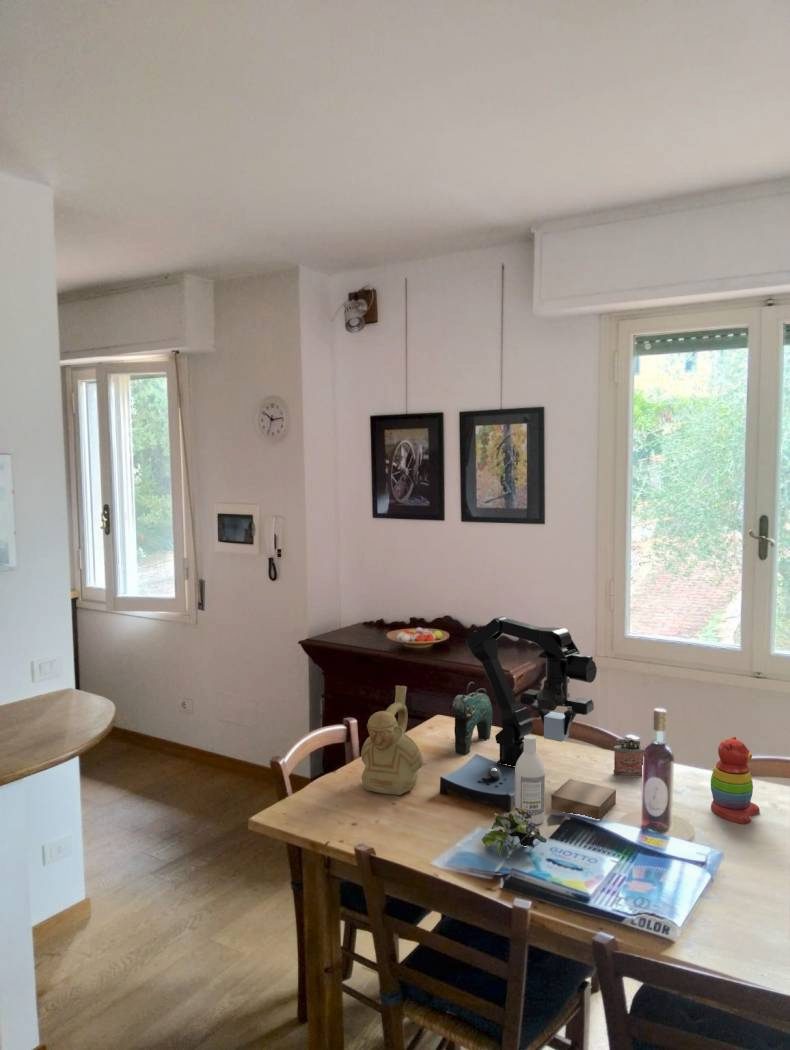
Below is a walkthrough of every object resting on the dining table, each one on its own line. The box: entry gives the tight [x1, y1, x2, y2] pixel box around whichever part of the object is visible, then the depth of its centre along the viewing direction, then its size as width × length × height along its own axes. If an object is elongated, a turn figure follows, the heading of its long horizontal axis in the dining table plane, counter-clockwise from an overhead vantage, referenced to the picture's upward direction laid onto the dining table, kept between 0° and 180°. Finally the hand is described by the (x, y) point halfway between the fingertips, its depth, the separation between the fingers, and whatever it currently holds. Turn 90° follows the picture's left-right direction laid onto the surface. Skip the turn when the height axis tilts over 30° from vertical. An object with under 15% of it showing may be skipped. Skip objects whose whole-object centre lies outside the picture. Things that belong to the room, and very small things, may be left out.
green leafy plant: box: [481, 807, 547, 858], centre depth 167 cm, size 11×11×12 cm
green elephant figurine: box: [451, 681, 493, 756], centre depth 232 cm, size 20×6×20 cm, turn 147°
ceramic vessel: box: [360, 685, 424, 796], centre depth 202 cm, size 17×20×25 cm
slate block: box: [543, 711, 570, 743], centre depth 208 cm, size 5×5×6 cm
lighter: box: [613, 737, 646, 778], centre depth 210 cm, size 8×3×10 cm, turn 84°
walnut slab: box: [550, 778, 617, 820], centre depth 190 cm, size 12×12×4 cm
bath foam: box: [514, 734, 546, 826], centre depth 183 cm, size 7×7×20 cm
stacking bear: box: [710, 736, 761, 825], centre depth 186 cm, size 11×10×18 cm
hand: (556, 732), depth 208 cm, fingers closed on slate block, 5 cm apart
